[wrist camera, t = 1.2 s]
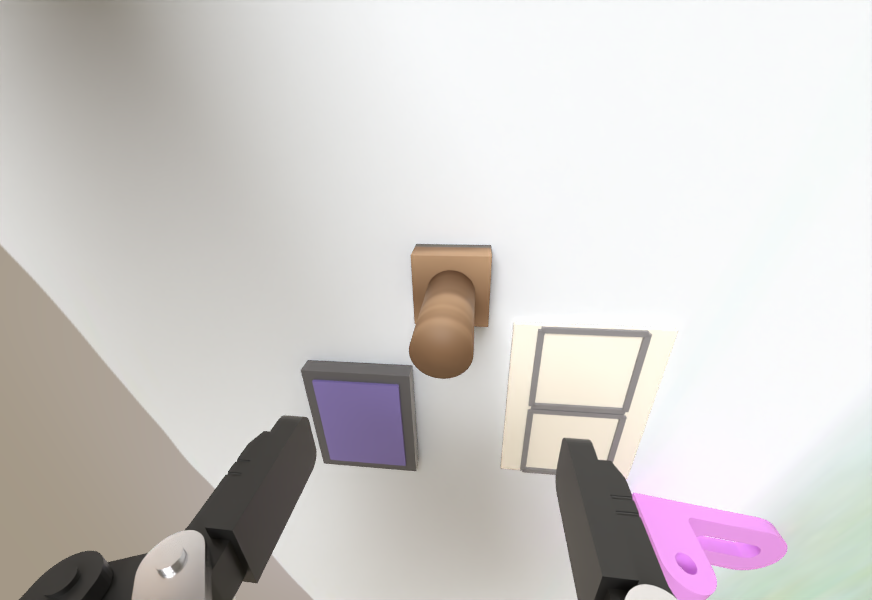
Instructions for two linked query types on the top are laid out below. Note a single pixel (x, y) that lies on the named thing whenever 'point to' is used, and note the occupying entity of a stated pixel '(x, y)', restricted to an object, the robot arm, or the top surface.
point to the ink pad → (363, 413)
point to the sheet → (581, 391)
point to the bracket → (705, 543)
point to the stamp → (448, 305)
